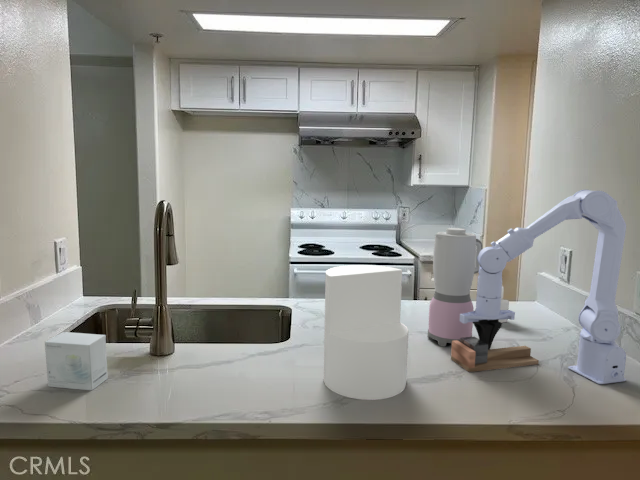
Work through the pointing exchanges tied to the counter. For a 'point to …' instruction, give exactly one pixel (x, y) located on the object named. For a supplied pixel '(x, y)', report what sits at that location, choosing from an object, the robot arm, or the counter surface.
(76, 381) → the skincare box
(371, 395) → the cylinder
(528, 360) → the rail board
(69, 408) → the counter surface
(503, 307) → the medicine bottle
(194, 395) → the counter surface
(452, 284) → the blender
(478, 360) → the keeper
